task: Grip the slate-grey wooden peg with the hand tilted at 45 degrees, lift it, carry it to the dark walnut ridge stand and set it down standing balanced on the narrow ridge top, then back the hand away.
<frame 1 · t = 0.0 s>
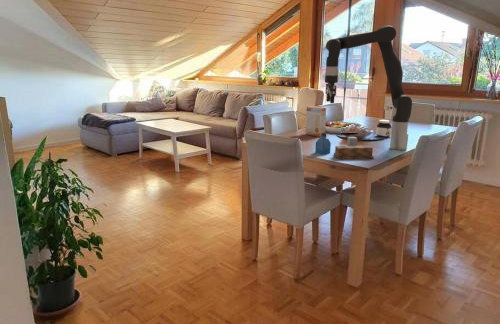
hand: (330, 102, 233), 29 cm above the table, tool pointing down, fingers open, 8 cm apart
slate peg: (351, 152, 235), on the table
ridge stand: (353, 157, 224), on the table
cracker box: (315, 135, 284), on the table
spread jar: (382, 136, 283), on the table
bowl: (340, 131, 301), on the table
perfume bottle: (322, 153, 233), on the table
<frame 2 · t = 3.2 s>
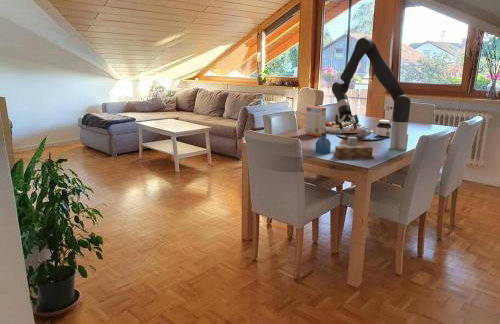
hand: (348, 129, 240), 12 cm above the table, tool tilted 45°, fingers open, 8 cm apart
nothing on the table moved.
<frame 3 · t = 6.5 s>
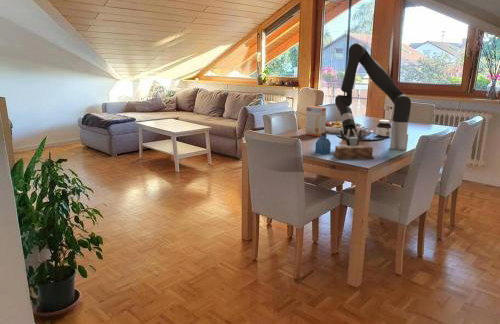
hand: (353, 145, 232), 5 cm above the table, tool tilted 45°, fingers closed on slate peg, 4 cm apart
slate peg: (351, 152, 235), on the table, touching gripper
everything else where it was.
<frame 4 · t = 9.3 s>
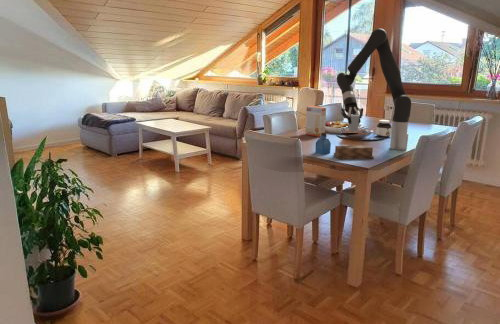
hand: (354, 123, 229), 18 cm above the table, tool tilted 45°, fingers closed on slate peg, 4 cm apart
slate peg: (353, 130, 232), point 13 cm above the table, touching gripper
everything else where it was.
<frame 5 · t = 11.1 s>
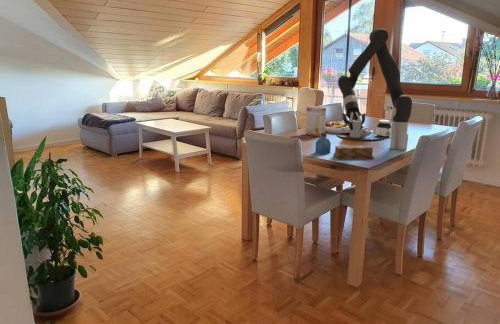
hand: (356, 129, 217), 17 cm above the table, tool tilted 45°, fingers closed on slate peg, 4 cm apart
slate peg: (354, 136, 220), point 12 cm above the table, touching gripper
everything else where it was.
when the fingers open (12 cm above the table, at t = 12.5 s): slate peg stays where it is, resting on ridge stand.
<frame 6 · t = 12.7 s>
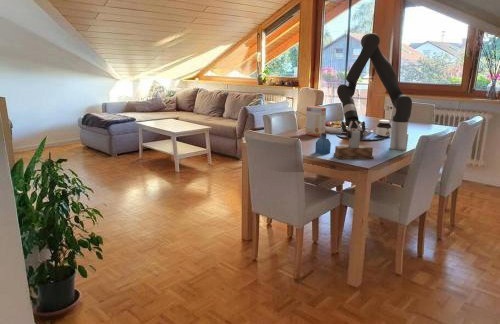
hand: (355, 137, 219), 12 cm above the table, tool tilted 45°, fingers open, 6 cm apart
slate peg: (353, 146, 222), point 6 cm above the table, touching ridge stand
everything else where it was.
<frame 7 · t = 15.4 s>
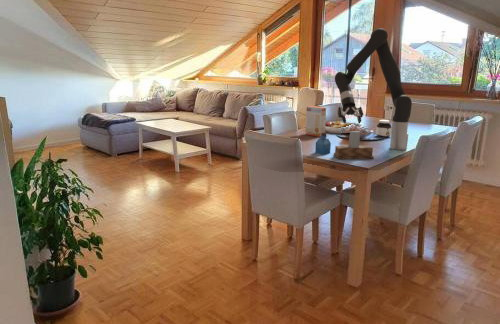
hand: (352, 122, 224), 19 cm above the table, tool tilted 45°, fingers open, 8 cm apart
nothing on the table moved.
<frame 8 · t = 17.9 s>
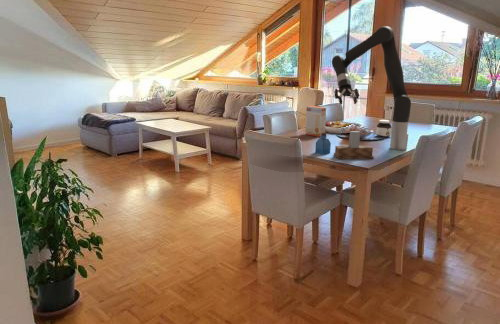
hand: (348, 103, 233), 29 cm above the table, tool tilted 45°, fingers open, 8 cm apart
nothing on the table moved.
at the end: slate peg inside the target area on the ridge stand (0.1 cm from its centre), point 6.0 cm above the ridge stand's base; slate peg tilted 0°; the gripper is holding nothing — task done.
